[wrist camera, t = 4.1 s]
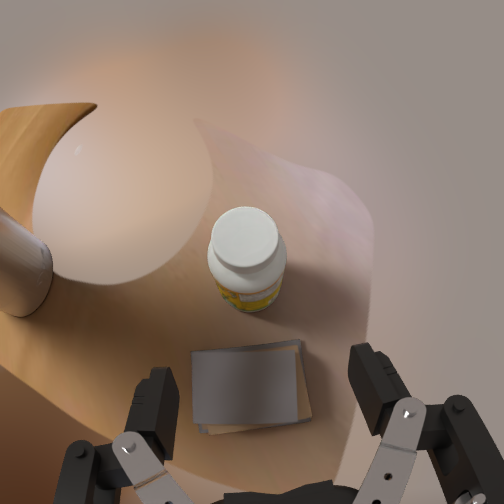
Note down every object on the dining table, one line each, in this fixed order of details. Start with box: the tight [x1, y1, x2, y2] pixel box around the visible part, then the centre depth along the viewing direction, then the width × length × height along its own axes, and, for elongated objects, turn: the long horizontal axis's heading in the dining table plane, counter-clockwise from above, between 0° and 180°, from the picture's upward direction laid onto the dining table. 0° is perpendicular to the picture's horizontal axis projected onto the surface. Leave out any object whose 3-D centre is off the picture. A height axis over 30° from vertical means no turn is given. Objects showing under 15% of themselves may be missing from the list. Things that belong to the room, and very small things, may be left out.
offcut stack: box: [191, 339, 312, 435], centre depth 22 cm, size 9×7×4 cm
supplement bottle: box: [207, 207, 287, 312], centre depth 23 cm, size 5×5×10 cm
